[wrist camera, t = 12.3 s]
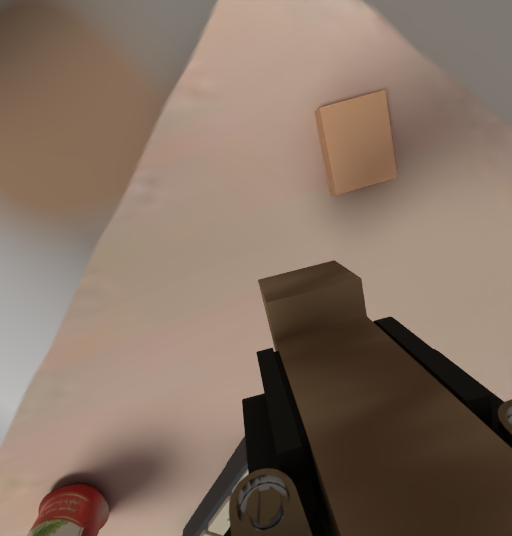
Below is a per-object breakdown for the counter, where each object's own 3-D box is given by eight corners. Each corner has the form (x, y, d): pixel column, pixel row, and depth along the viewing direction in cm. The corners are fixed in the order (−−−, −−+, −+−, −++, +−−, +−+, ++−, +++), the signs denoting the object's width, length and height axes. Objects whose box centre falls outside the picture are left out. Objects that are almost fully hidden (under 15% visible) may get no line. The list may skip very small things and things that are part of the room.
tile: (313, 112, 26) (374, 95, 26) (329, 194, 28) (386, 178, 28) (319, 107, 25) (385, 89, 25) (336, 195, 26) (397, 177, 27)
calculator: (176, 566, 33) (248, 468, 30) (182, 522, 37) (246, 432, 34) (265, 591, 35) (340, 503, 32) (262, 547, 39) (328, 465, 36)
